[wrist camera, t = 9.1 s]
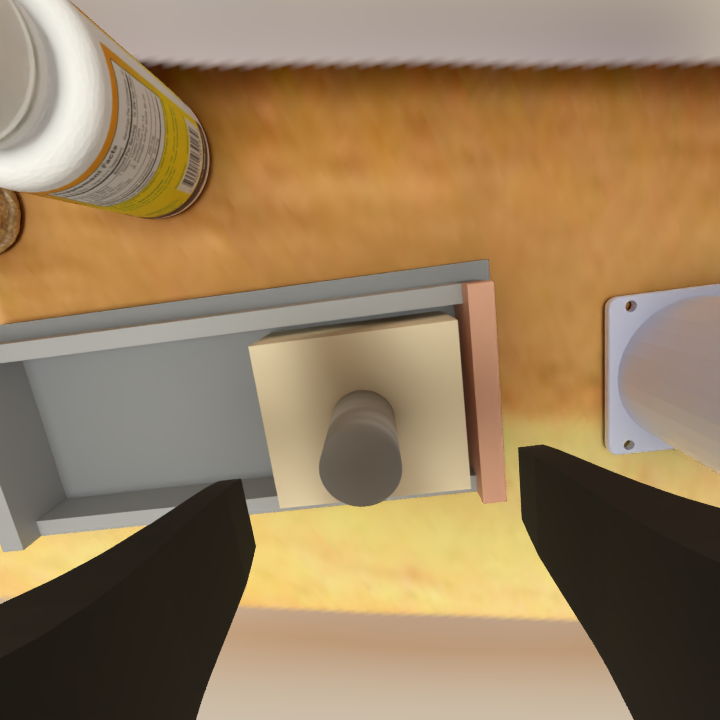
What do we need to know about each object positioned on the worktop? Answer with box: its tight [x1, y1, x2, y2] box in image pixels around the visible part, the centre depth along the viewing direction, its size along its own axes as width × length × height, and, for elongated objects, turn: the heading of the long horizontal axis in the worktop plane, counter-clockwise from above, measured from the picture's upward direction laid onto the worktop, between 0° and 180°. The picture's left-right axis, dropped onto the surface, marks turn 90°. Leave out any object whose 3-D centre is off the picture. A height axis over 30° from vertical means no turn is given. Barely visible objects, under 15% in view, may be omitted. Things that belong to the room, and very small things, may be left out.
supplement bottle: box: [0, 0, 209, 219], centre depth 13 cm, size 6×6×10 cm
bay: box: [0, 259, 507, 552], centre depth 19 cm, size 24×11×4 cm, turn 98°
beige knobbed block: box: [248, 311, 471, 509], centre depth 16 cm, size 8×7×8 cm
